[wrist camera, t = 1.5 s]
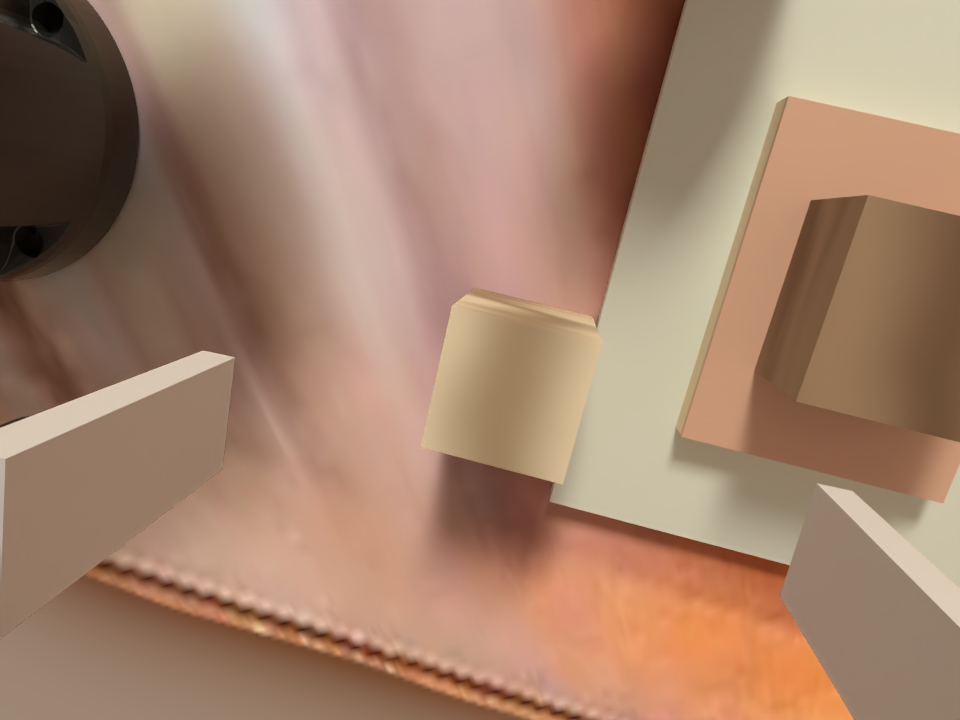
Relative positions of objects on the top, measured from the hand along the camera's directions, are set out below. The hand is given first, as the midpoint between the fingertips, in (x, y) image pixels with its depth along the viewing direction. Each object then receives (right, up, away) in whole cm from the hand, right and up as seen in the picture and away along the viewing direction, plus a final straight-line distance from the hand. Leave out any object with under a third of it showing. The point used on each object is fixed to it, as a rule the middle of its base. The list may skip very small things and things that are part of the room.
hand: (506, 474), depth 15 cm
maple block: (+1, +3, +16) cm, 17 cm away
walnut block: (+15, +5, +12) cm, 20 cm away
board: (+15, +5, +14) cm, 21 cm away
